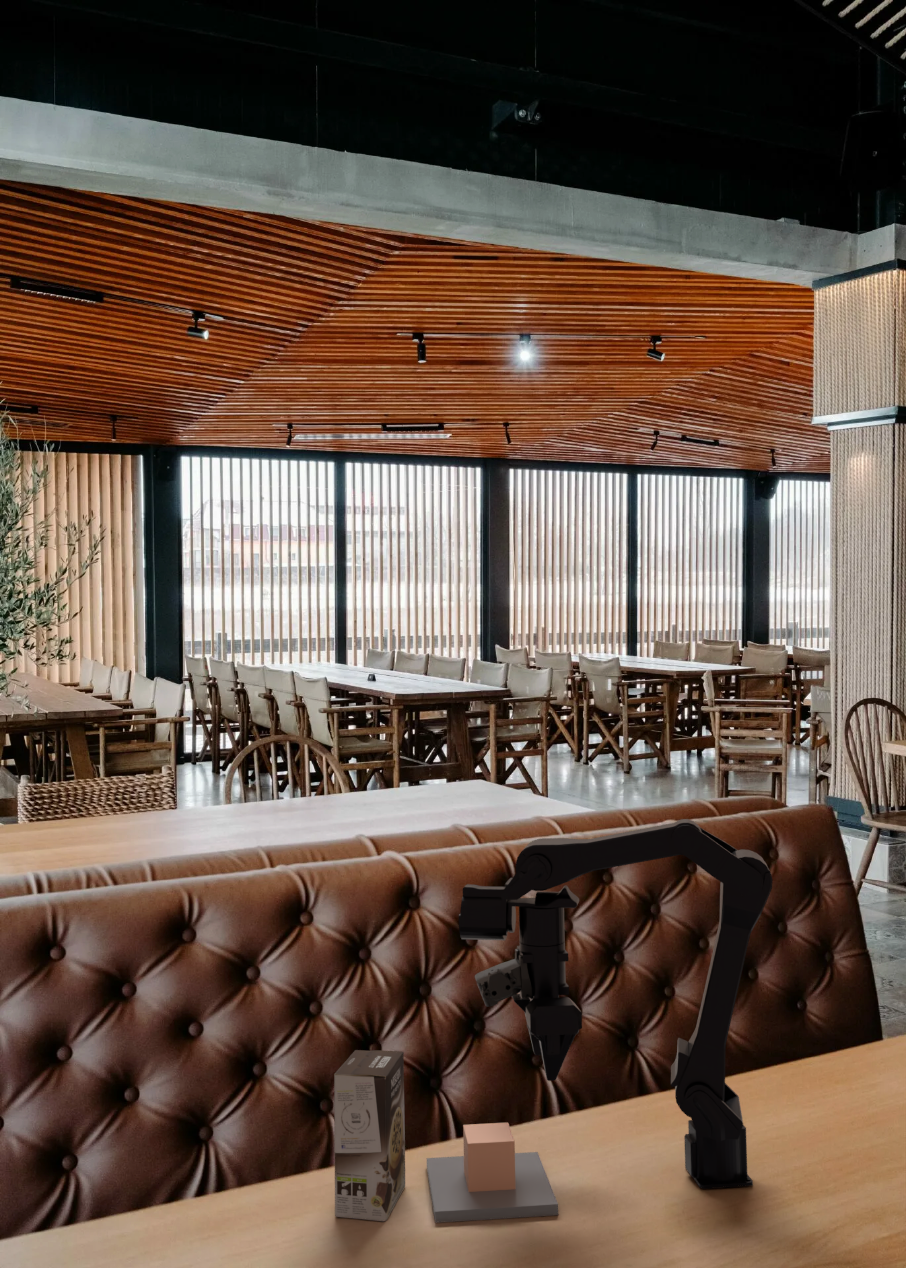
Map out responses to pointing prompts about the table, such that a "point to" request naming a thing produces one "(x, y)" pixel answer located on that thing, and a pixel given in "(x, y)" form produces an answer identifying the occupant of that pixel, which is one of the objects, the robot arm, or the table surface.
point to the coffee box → (369, 1134)
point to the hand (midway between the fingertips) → (544, 1067)
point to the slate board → (489, 1192)
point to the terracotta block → (489, 1157)
